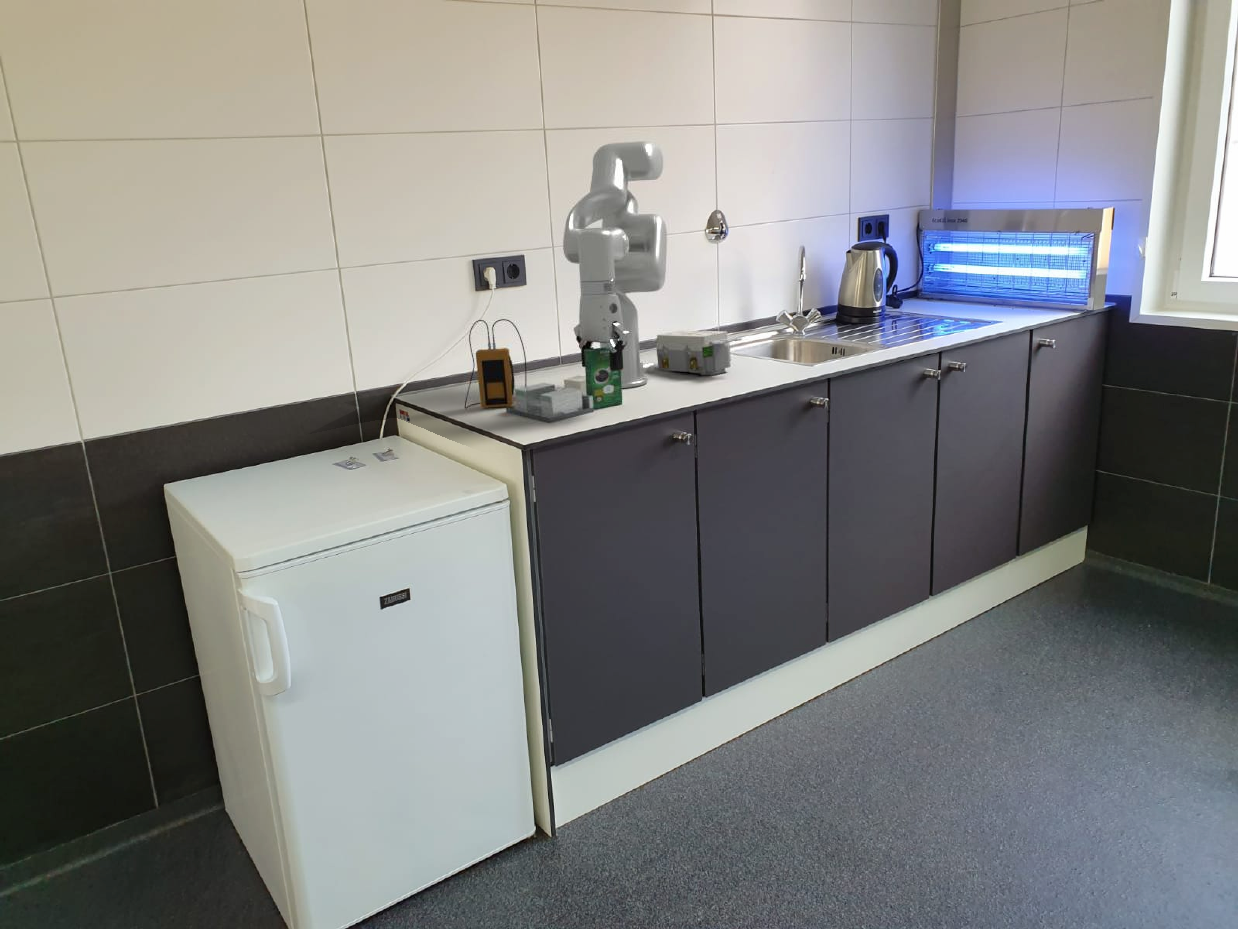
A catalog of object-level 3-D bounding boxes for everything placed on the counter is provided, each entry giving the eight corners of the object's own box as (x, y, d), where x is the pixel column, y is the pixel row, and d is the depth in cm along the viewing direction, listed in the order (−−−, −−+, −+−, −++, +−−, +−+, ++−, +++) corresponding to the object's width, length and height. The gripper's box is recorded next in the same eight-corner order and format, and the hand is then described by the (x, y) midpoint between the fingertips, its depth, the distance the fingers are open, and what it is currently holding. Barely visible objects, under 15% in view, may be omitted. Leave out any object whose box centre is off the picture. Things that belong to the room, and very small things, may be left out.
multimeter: (531, 396, 218) (524, 312, 213) (529, 406, 209) (521, 317, 203) (469, 400, 218) (460, 315, 212) (464, 410, 209) (455, 321, 203)
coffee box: (617, 402, 208) (613, 344, 204) (624, 404, 205) (620, 345, 202) (586, 408, 204) (582, 349, 200) (593, 410, 201) (589, 350, 198)
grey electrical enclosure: (716, 379, 223) (713, 337, 221) (642, 372, 245) (638, 335, 243) (750, 371, 230) (747, 331, 228) (675, 365, 252) (672, 329, 250)
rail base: (549, 401, 212) (547, 380, 210) (593, 411, 200) (592, 389, 199) (506, 411, 204) (504, 389, 203) (549, 422, 193) (547, 399, 191)
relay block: (579, 396, 216) (578, 375, 215) (595, 398, 213) (594, 377, 211) (565, 400, 212) (564, 379, 211) (581, 403, 209) (580, 381, 208)
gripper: (638, 288, 193) (641, 369, 197) (586, 286, 206) (590, 362, 210) (610, 291, 188) (615, 374, 193) (559, 289, 201) (564, 367, 206)
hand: (602, 368), depth 201 cm, fingers open, 9 cm apart
